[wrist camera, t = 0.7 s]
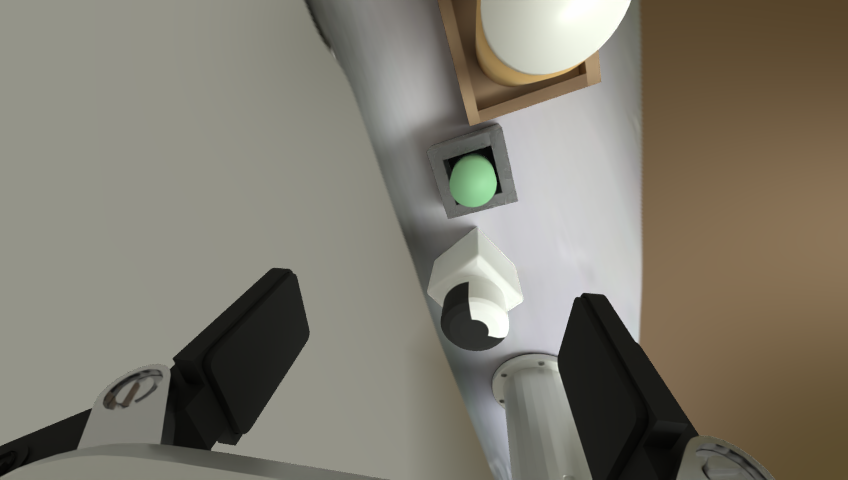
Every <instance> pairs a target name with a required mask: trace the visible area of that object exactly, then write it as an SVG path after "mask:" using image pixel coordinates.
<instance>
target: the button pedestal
mask: <svg viewBox="0 0 848 480" xmlns="http://www.w3.org/2000/svg"><path fill="white" fill-rule="evenodd" d="M490 145H491V149H492V153H493V157H494V162H495V166H496V170H497V174H498V178H499V182H498V183H497V186H496V191H495V193H494V195H493V197H492V198H491V199H490V200H489V201H488V202H487V203H485V204H483V205H481V206H478V207H467V206H464V205H461V204H460V203H458V202H457V201H456V200H455V199H454V198H453V196H452V194H451V192H450V186H449V184H450V178H451V175H452V172H451V168H450V165H449V161H448V159H449V158H452V157H455V156H458V155H462V154H465V153H468V152H471V151H474V150H477V149H481V148H484V147H487V146H490ZM427 155H428V158H429V161H430V164H431V167H432V170H433V173H434V177H435V180H436V183H437V186H438V189H439V192H440V195H441V198H442V202H443V205H444V208H445V211H446V214H447V217H448V219H451V218H454V217H458V216H462V215H466V214H470V213H474V212H478V211H482V210H485V209H489V208H493V207H497V206H501V205H505V204H509V203H513V202H516V201H518V199H517V194H516V190H515V185H514V181H513V176H512V172H511V167H510V162H509V158H508V153H507V149H506V144H505V140H504V135H503V131H502V127H501V126H500V125H499V124H496V125H493V126H490V127H487V128H484V129H481V130H478V131H475V132H472V133H469V134H466V135H463V136H460V137H457V138H454V139H451V140H448V141H445V142H442V143H439V144H436V145H433V146H431V147H430V149H429V150H428V151H427Z"/></svg>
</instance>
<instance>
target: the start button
mask: <svg viewBox="0 0 848 480" xmlns="http://www.w3.org/2000/svg"><path fill="white" fill-rule="evenodd" d="M449 186H450V192H451V194H452V196H453V198H454V199H455V200H456V201H457V202H458V203H460V204H461V205H464V206H467V207H478V206H481V205H483V204H485V203H487V202H488V201H489V200H490V199H491V198H492V197H493V195H494V193H495V191H496V186H497V181H496V176H495V173H494V169H493V166H492V164H491V162H490V161H489V160H488V159H487V158H486V157H485V156H483V155H481V154H476V153H472V154H467V155H465V156H463V157H461V158H460V159H459V160H458V161H457V162H456V164H455V166H454V168H453V171H452V175H451V178H450V184H449Z"/></svg>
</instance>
